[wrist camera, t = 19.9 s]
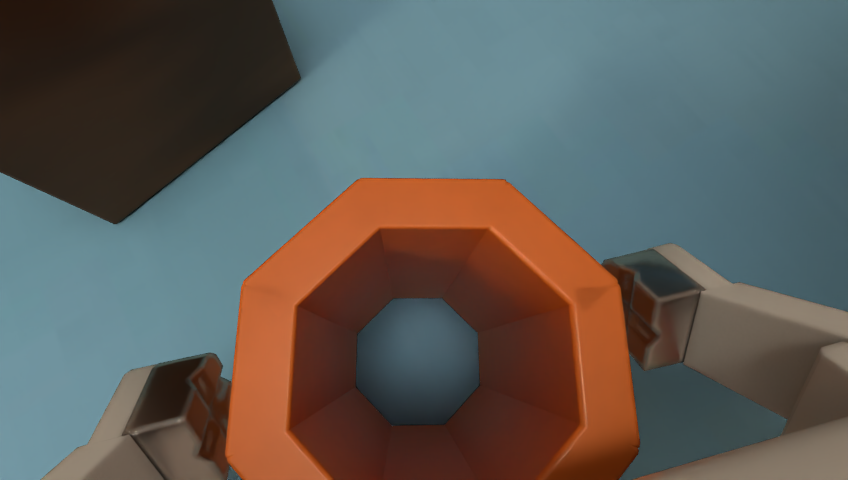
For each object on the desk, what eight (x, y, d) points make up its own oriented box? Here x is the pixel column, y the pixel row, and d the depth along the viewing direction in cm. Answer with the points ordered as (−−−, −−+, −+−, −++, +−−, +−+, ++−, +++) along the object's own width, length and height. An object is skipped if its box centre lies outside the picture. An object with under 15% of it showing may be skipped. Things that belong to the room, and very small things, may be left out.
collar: (417, 240, 15) (432, 111, 7) (538, 358, 14) (711, 360, 6) (293, 360, 13) (144, 367, 6) (418, 496, 13) (442, 719, 5)
